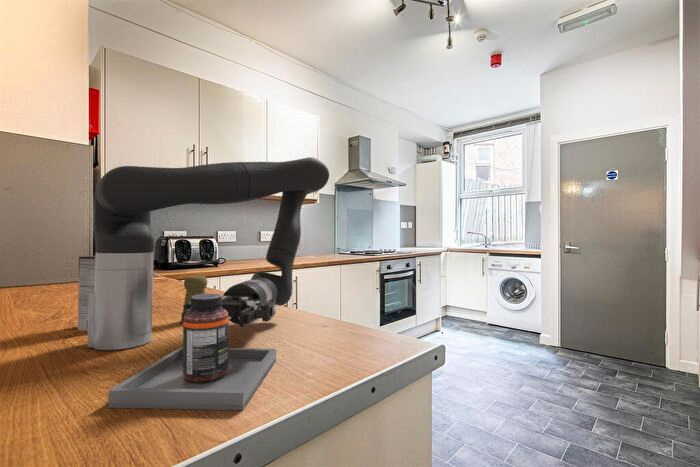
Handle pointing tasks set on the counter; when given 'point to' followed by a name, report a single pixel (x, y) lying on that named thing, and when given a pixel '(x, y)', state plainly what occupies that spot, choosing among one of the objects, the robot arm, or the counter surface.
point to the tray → (177, 393)
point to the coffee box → (85, 289)
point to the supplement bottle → (205, 339)
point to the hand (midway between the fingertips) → (213, 319)
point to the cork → (194, 286)
